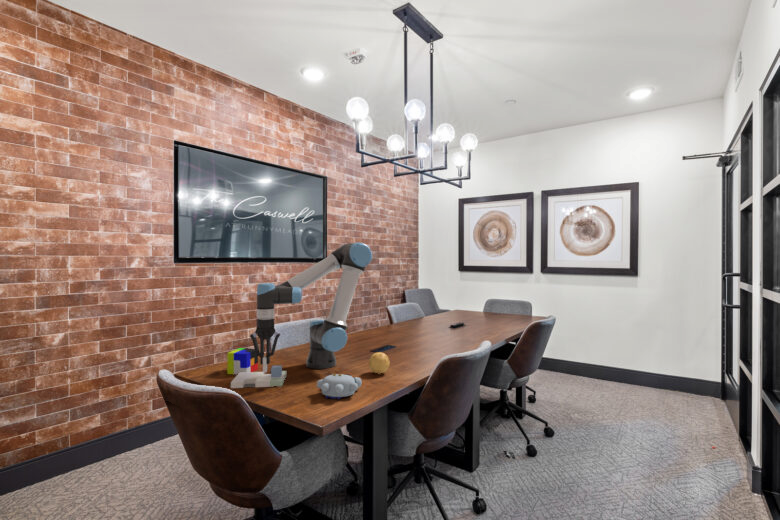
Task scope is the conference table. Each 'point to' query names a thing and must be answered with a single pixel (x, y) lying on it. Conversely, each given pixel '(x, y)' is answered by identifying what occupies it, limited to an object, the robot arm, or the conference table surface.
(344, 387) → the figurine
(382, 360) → the stress ball
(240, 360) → the puzzle toy
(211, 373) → the conference table surface
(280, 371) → the block
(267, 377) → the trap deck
